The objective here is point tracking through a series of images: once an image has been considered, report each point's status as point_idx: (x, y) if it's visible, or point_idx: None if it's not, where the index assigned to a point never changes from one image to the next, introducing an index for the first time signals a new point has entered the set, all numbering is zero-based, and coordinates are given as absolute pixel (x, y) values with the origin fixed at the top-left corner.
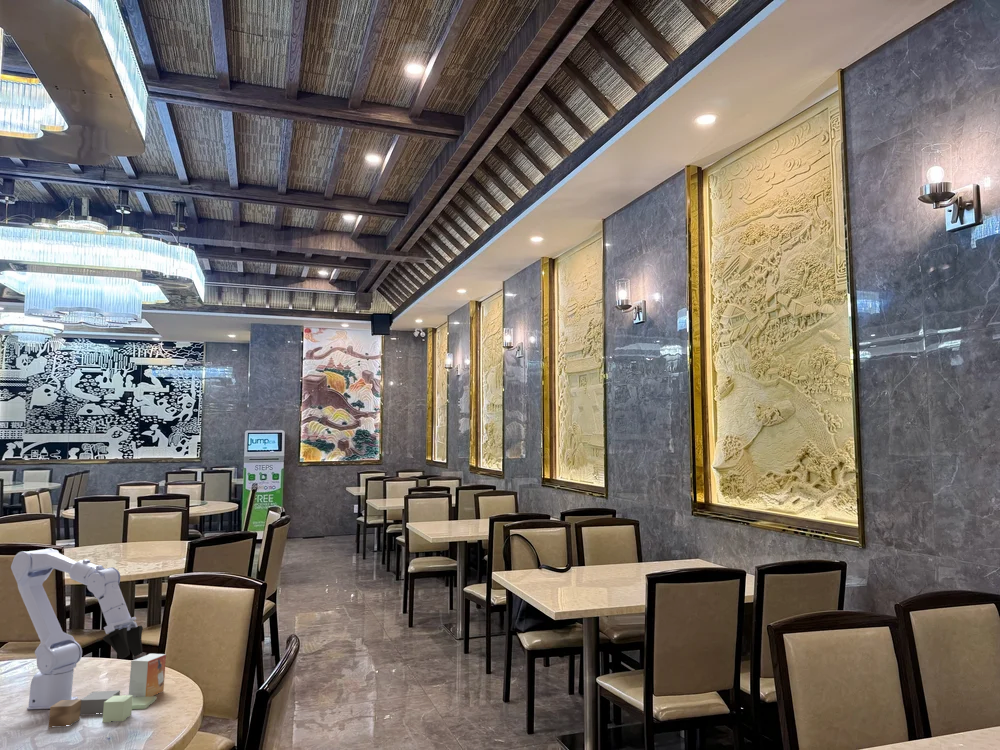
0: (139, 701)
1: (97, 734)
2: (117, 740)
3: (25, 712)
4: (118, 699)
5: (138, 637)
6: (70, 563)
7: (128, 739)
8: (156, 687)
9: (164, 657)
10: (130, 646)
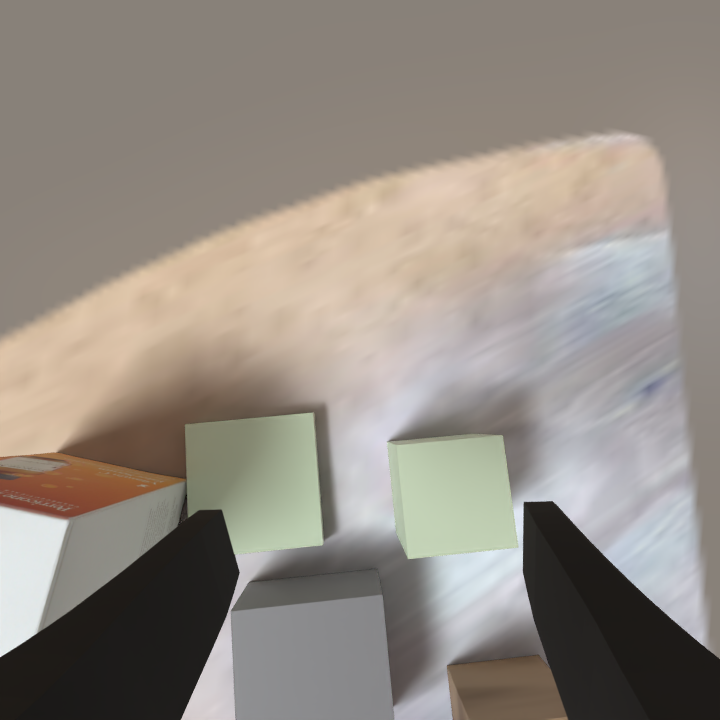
0: (261, 471)
1: (617, 461)
2: (669, 342)
3: None
4: (469, 488)
5: (83, 671)
6: None
7: (656, 304)
8: (91, 466)
9: None
10: (173, 705)
